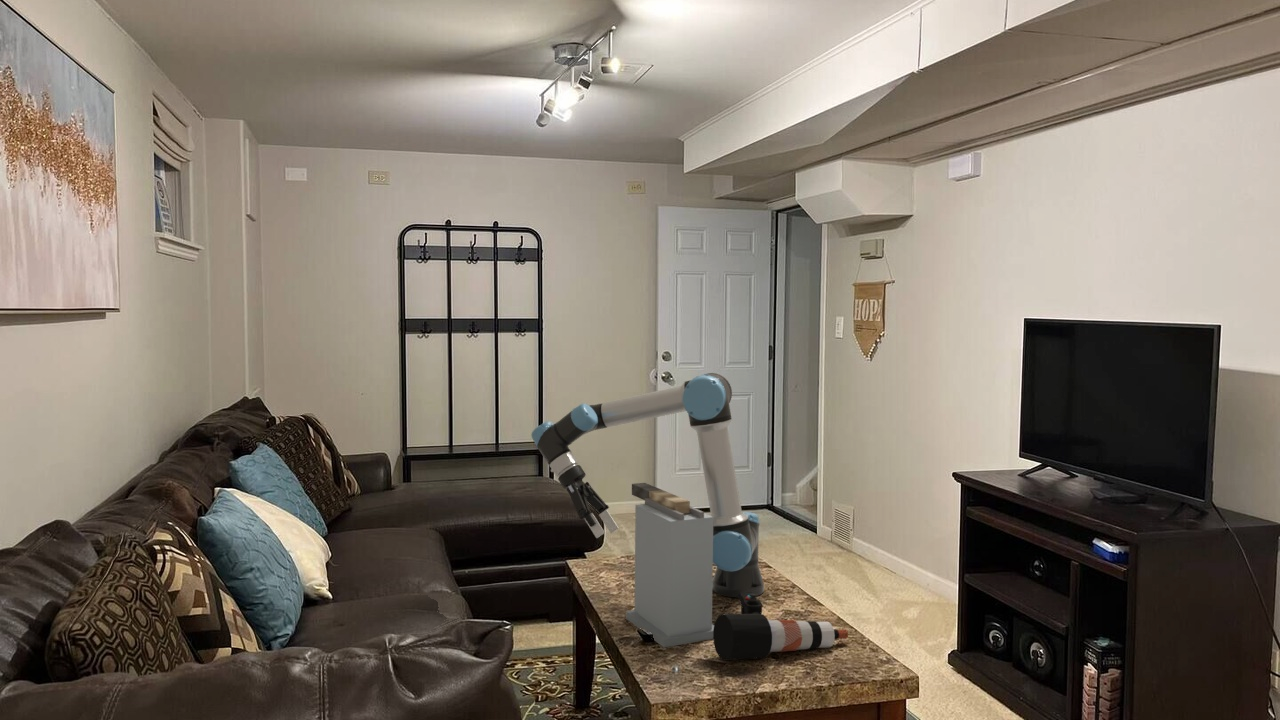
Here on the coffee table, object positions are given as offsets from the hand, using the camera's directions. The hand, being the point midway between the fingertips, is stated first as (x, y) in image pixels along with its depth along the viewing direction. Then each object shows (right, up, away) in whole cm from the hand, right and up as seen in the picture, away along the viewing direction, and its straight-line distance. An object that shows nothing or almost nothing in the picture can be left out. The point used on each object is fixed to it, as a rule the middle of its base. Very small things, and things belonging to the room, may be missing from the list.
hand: (608, 533), depth 246 cm
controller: (+37, -20, -22) cm, 48 cm away
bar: (+14, +11, -17) cm, 25 cm away
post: (+17, -20, -22) cm, 35 cm away
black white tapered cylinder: (+44, -21, -38) cm, 62 cm away
